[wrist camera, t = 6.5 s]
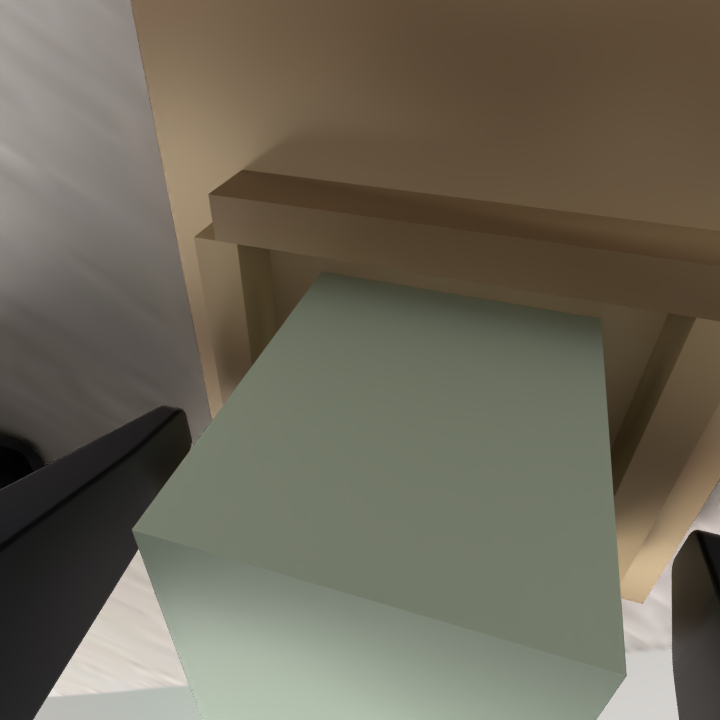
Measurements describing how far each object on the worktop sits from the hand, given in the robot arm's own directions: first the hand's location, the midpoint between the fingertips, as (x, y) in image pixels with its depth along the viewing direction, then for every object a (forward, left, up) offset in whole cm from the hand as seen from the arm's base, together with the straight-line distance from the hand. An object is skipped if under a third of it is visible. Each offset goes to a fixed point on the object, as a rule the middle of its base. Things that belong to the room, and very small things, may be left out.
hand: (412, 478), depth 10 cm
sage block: (0, 0, -2) cm, 2 cm away
